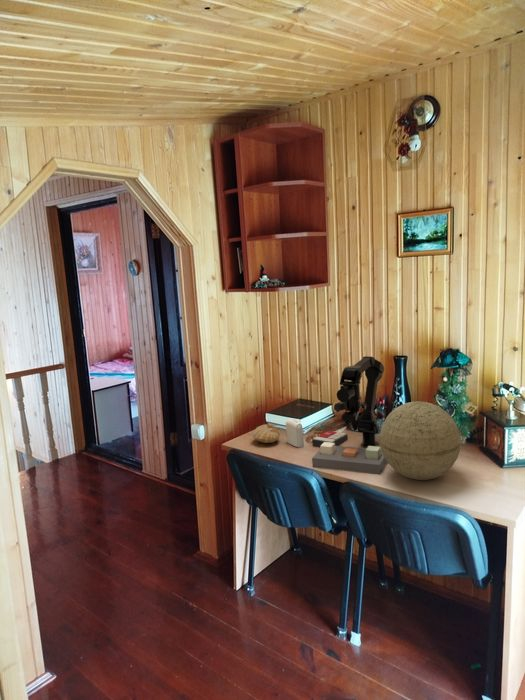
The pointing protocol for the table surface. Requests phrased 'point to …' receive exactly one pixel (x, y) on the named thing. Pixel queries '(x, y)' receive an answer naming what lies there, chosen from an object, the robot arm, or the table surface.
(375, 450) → the sage button
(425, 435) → the brown large sphere
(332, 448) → the cream button
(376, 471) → the button panel
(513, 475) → the table surface
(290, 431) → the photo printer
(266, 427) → the seashell
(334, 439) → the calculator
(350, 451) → the terracotta button
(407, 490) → the table surface
